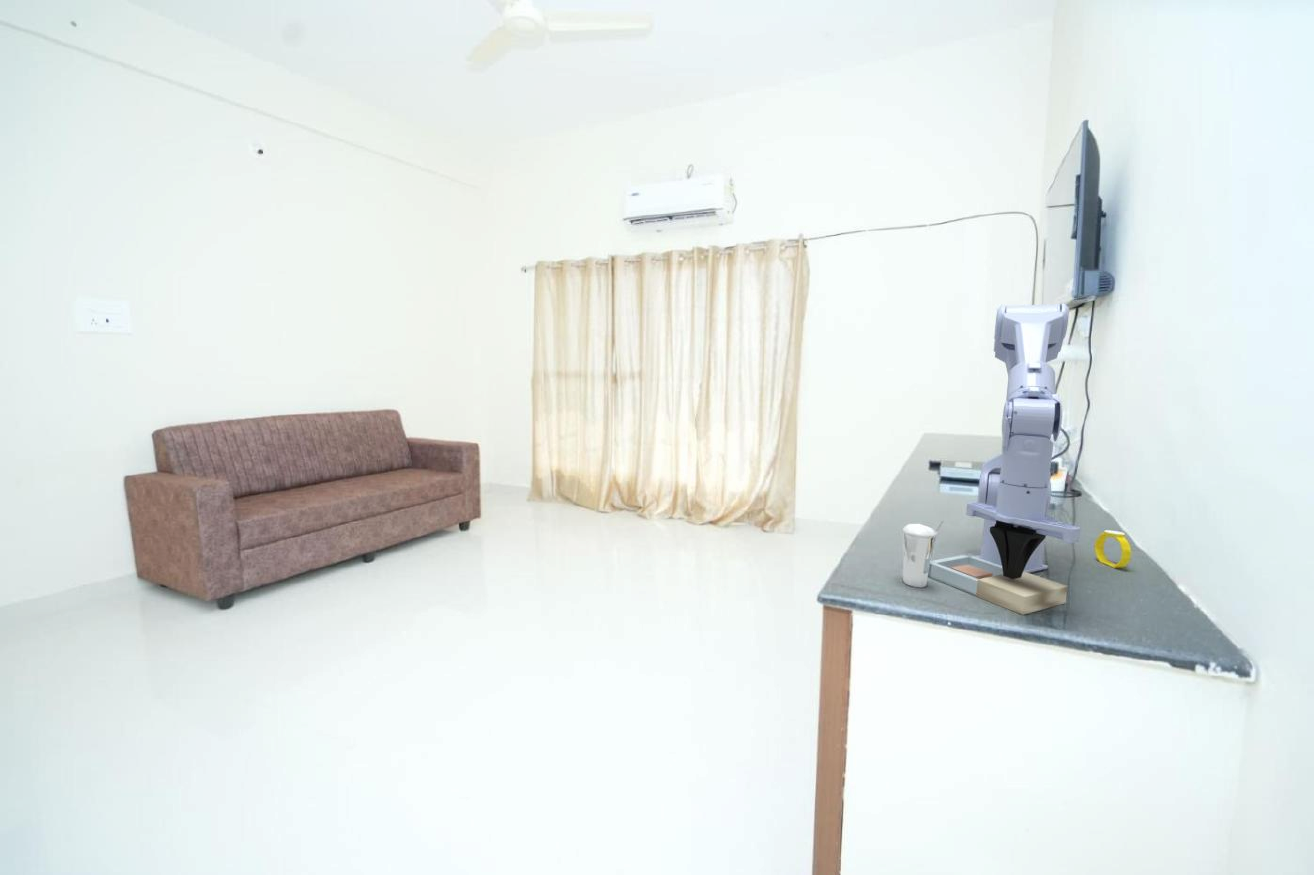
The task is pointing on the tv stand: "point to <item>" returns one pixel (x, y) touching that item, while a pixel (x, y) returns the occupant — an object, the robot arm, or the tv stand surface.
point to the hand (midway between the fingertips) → (1012, 576)
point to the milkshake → (917, 553)
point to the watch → (1123, 543)
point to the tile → (973, 571)
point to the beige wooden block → (1022, 592)
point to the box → (957, 579)
